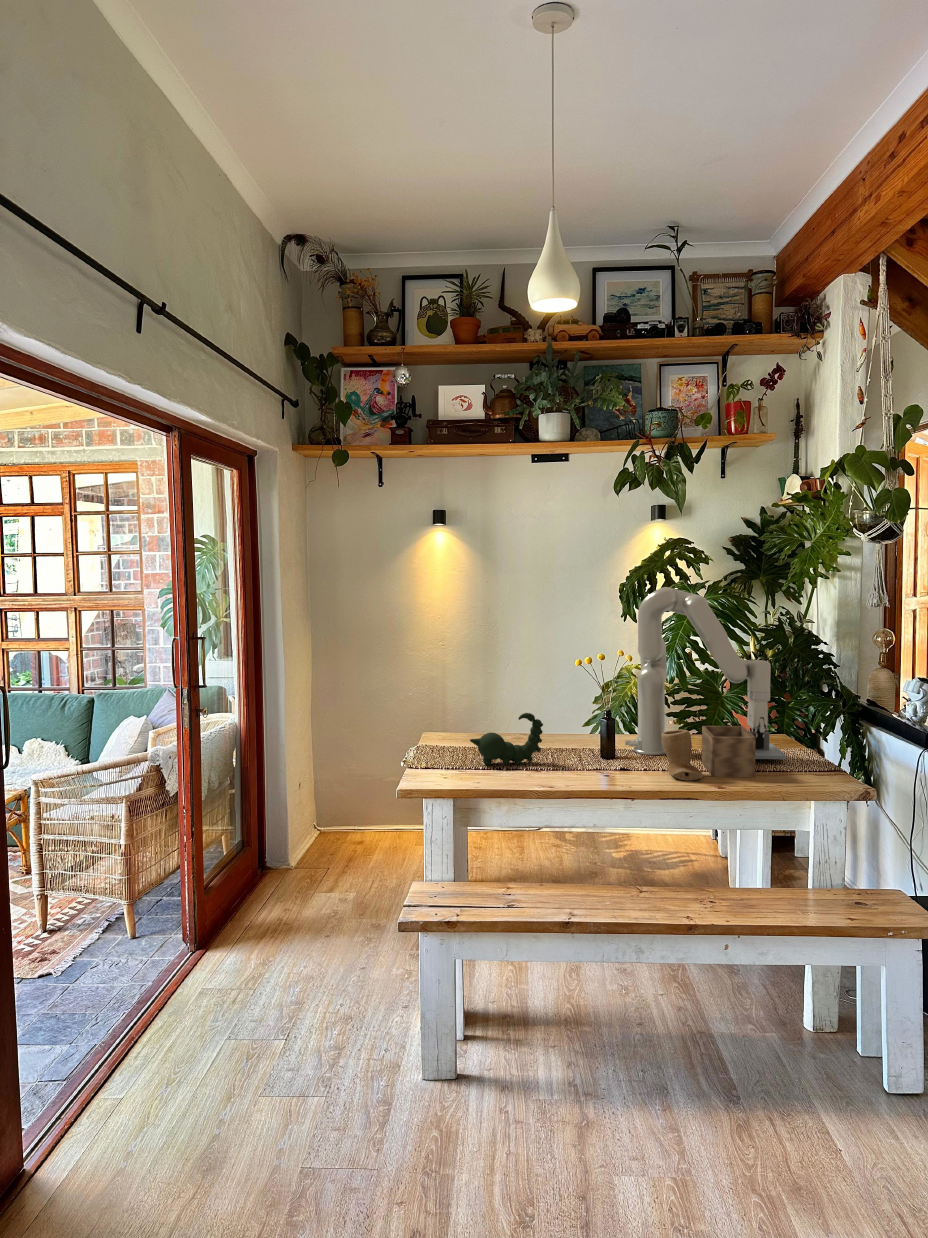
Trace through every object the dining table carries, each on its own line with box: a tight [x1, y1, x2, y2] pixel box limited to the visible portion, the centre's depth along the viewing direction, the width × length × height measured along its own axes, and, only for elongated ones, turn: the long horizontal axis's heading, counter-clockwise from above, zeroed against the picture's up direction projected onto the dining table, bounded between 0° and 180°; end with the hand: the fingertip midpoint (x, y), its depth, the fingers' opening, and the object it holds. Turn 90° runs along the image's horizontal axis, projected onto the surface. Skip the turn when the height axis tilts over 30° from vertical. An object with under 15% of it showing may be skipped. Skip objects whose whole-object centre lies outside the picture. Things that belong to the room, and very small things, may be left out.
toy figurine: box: [469, 712, 544, 766], centre depth 295 cm, size 9×19×25 cm
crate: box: [701, 725, 756, 778], centre depth 283 cm, size 14×18×13 cm
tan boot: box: [661, 729, 704, 782], centre depth 277 cm, size 15×12×15 cm
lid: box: [748, 730, 787, 760], centre depth 299 cm, size 14×18×7 cm
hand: (757, 747), depth 299 cm, fingers closed on lid, 2 cm apart
